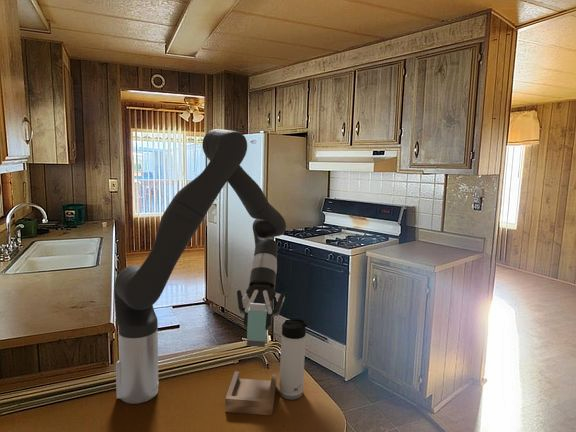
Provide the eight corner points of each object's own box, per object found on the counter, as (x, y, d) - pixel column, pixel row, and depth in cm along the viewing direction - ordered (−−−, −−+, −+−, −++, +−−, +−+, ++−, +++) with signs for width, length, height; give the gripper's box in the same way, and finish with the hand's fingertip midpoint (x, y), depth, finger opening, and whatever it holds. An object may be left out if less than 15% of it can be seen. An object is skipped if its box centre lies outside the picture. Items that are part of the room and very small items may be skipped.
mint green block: (246, 345, 107) (248, 303, 105) (249, 335, 113) (251, 295, 111) (264, 347, 107) (266, 305, 105) (266, 336, 113) (268, 297, 111)
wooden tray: (225, 411, 97) (225, 398, 96) (234, 383, 109) (234, 371, 108) (271, 415, 96) (272, 402, 96) (276, 386, 108) (276, 374, 108)
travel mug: (301, 401, 102) (305, 328, 99) (276, 397, 103) (279, 324, 100) (305, 388, 108) (309, 318, 105) (281, 384, 109) (284, 315, 106)
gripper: (238, 264, 114) (228, 321, 104) (287, 267, 114) (283, 325, 104) (240, 276, 121) (232, 331, 110) (287, 279, 120) (283, 335, 110)
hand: (256, 328), depth 107 cm, fingers closed on mint green block, 4 cm apart
